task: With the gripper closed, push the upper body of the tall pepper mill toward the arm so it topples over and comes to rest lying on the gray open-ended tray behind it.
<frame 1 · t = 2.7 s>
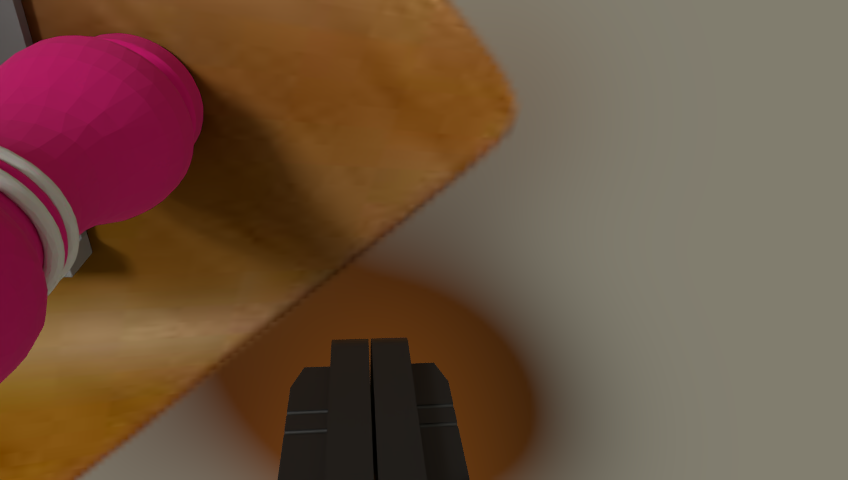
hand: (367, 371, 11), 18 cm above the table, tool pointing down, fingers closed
pepper mill: (136, 101, 25), on the table
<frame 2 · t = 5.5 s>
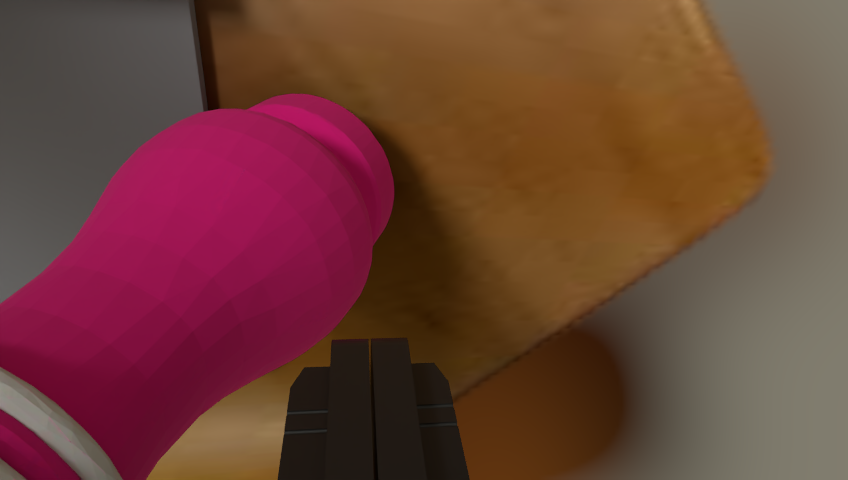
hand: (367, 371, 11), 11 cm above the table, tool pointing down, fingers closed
pepper mill: (314, 177, 19), point 1 cm above the table
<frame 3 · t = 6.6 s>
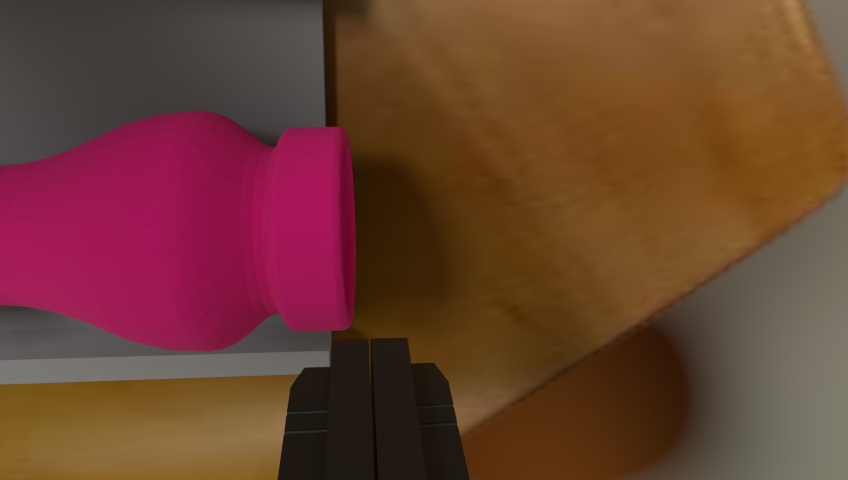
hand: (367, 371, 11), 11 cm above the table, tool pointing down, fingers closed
pepper mill: (356, 228, 16), point 4 cm above the table, touching gray open-ended tray
gray open-ended tray: (26, 166, 19), on the table
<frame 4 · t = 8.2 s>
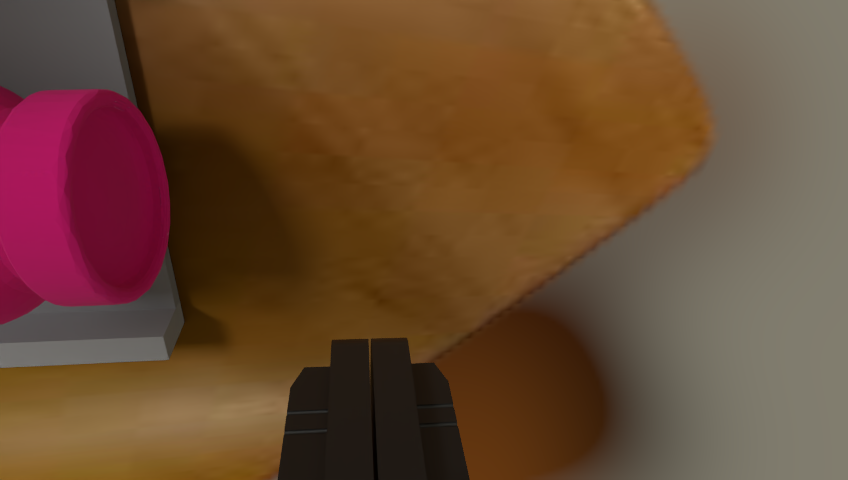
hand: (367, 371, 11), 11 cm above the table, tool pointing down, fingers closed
pepper mill: (136, 197, 16), point 4 cm above the table, touching gray open-ended tray
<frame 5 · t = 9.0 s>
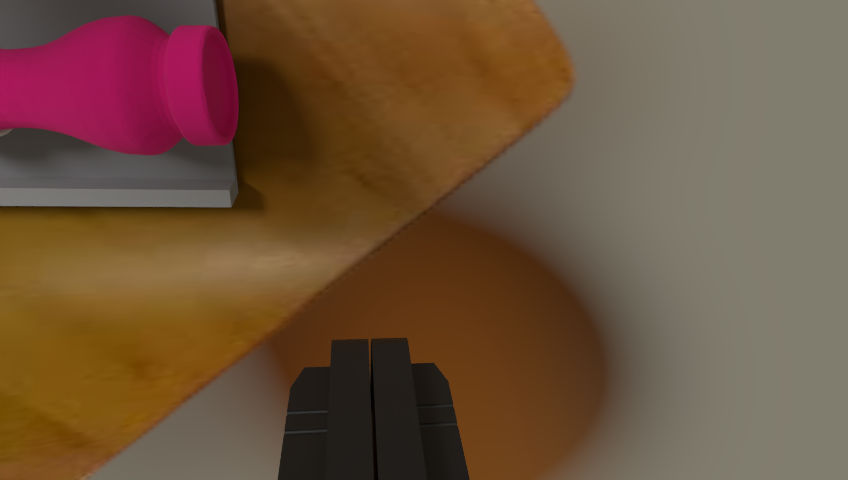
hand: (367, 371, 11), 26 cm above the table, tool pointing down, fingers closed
pepper mill: (226, 87, 29), point 4 cm above the table, touching gray open-ended tray
gray open-ended tray: (39, 66, 31), on the table
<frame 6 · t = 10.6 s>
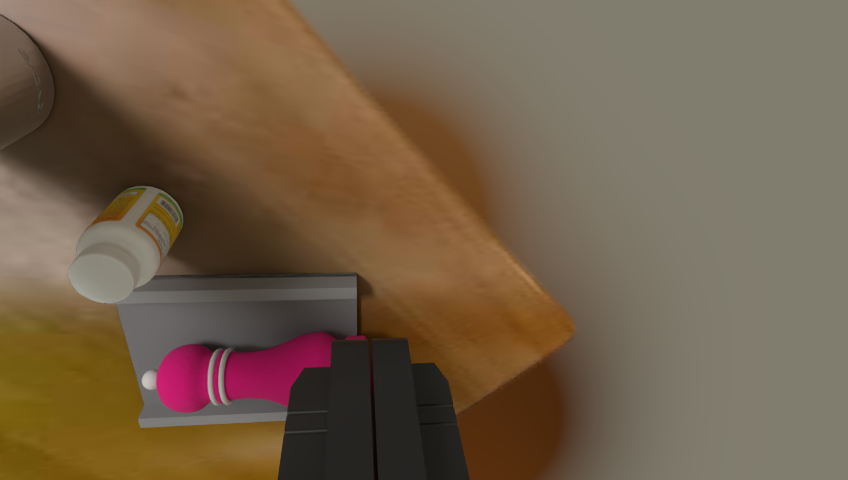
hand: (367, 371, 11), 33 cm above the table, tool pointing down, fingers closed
supplement bottle: (150, 213, 43), on the table
pepper mill: (368, 369, 48), point 4 cm above the table, touching gray open-ended tray
gray open-ended tray: (247, 344, 51), on the table
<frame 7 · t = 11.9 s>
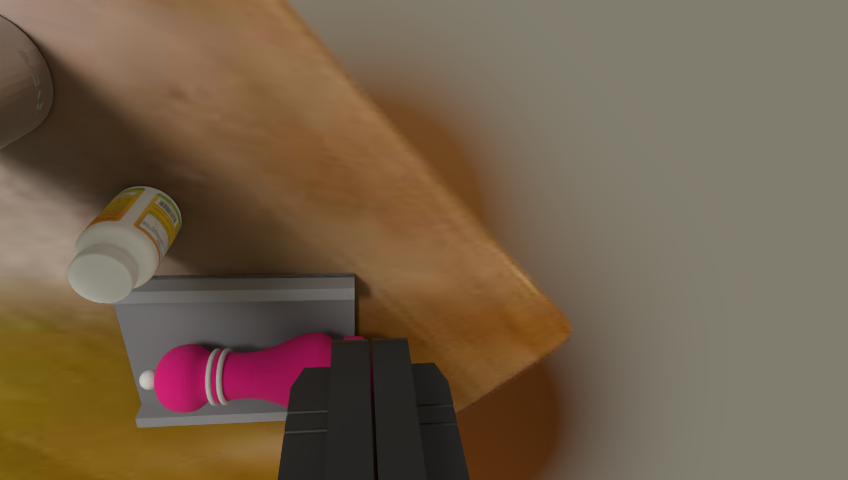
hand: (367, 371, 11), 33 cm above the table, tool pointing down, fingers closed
supplement bottle: (149, 213, 44), on the table
pepper mill: (366, 370, 49), point 4 cm above the table, touching gray open-ended tray
gray open-ended tray: (245, 344, 51), on the table
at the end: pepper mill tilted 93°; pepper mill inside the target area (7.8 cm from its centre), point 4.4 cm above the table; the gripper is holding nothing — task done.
